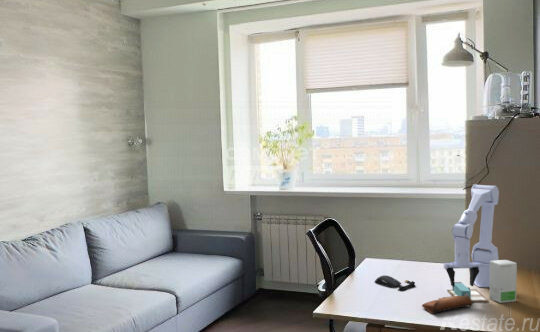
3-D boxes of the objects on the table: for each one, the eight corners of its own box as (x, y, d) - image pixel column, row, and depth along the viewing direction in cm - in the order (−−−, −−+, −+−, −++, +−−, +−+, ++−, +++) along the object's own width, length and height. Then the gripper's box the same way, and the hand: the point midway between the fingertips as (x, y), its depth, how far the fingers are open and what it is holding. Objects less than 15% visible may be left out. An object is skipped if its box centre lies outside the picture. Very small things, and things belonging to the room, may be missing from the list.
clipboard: (447, 291, 220) (447, 287, 220) (476, 290, 220) (476, 287, 220) (458, 302, 206) (458, 298, 206) (488, 302, 206) (488, 298, 206)
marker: (452, 290, 219) (452, 282, 218) (461, 290, 219) (461, 282, 218) (464, 302, 204) (464, 293, 204) (473, 302, 204) (473, 293, 204)
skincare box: (499, 303, 204) (499, 264, 203) (488, 298, 210) (488, 260, 209) (517, 301, 206) (517, 262, 205) (505, 295, 213) (505, 258, 211)
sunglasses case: (456, 297, 208) (463, 287, 204) (467, 312, 203) (474, 302, 199) (419, 305, 201) (426, 294, 197) (429, 320, 196) (436, 309, 192)
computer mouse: (390, 278, 242) (390, 269, 242) (420, 287, 228) (420, 278, 228) (371, 283, 235) (371, 274, 235) (401, 292, 221) (401, 283, 221)
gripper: (447, 255, 207) (447, 289, 208) (484, 255, 206) (483, 288, 208) (441, 251, 214) (442, 283, 215) (477, 250, 213) (477, 282, 215)
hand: (462, 285), depth 212 cm, fingers open, 7 cm apart
